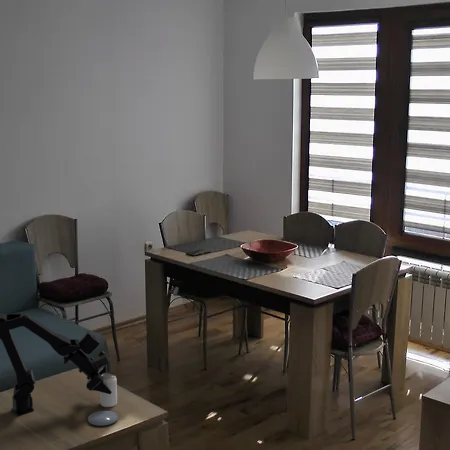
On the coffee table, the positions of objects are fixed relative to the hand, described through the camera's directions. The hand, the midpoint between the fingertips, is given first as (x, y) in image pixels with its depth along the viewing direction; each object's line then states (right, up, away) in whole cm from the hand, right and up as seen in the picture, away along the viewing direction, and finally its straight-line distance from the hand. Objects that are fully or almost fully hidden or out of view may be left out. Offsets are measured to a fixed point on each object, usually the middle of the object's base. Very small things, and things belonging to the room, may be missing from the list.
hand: (112, 388), depth 272 cm
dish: (-1, -9, -12) cm, 15 cm away
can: (-1, -7, +1) cm, 7 cm away
